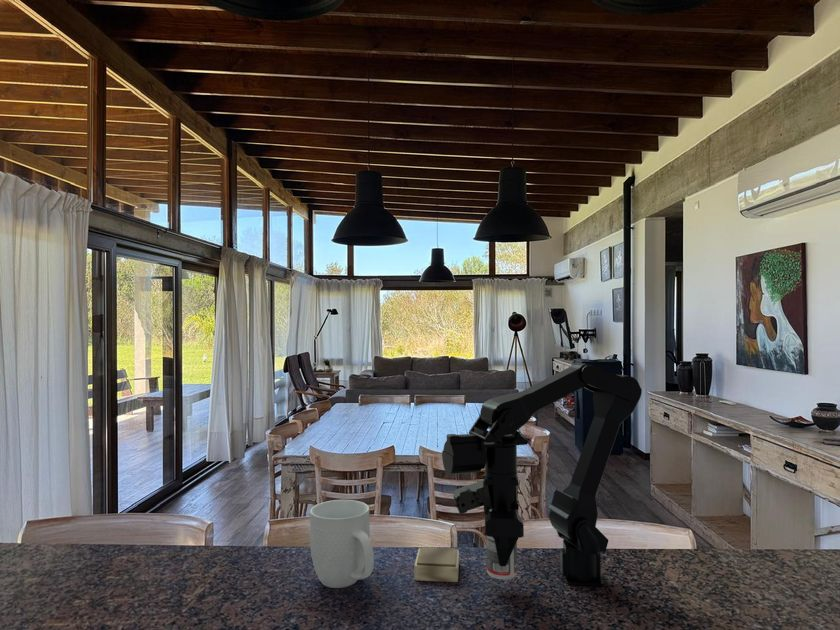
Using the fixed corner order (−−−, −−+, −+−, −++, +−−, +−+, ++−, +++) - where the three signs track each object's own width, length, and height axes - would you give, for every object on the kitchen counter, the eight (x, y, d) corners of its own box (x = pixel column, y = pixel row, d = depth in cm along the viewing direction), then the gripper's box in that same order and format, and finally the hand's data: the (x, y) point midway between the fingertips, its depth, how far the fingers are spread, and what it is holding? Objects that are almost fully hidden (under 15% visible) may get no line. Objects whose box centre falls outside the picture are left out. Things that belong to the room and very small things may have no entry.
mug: (395, 587, 92) (395, 513, 92) (344, 610, 84) (345, 529, 85) (346, 561, 102) (346, 495, 103) (297, 579, 95) (298, 508, 95)
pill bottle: (500, 564, 95) (500, 510, 95) (523, 574, 91) (522, 518, 91) (480, 572, 91) (479, 517, 92) (503, 583, 87) (502, 525, 88)
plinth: (458, 563, 102) (458, 547, 102) (457, 582, 94) (457, 565, 94) (418, 561, 102) (418, 546, 103) (414, 580, 95) (414, 563, 95)
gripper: (457, 457, 102) (458, 536, 101) (454, 483, 83) (454, 581, 83) (514, 458, 101) (514, 539, 100) (523, 485, 82) (524, 584, 82)
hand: (501, 558), depth 91 cm, fingers closed on pill bottle, 5 cm apart
